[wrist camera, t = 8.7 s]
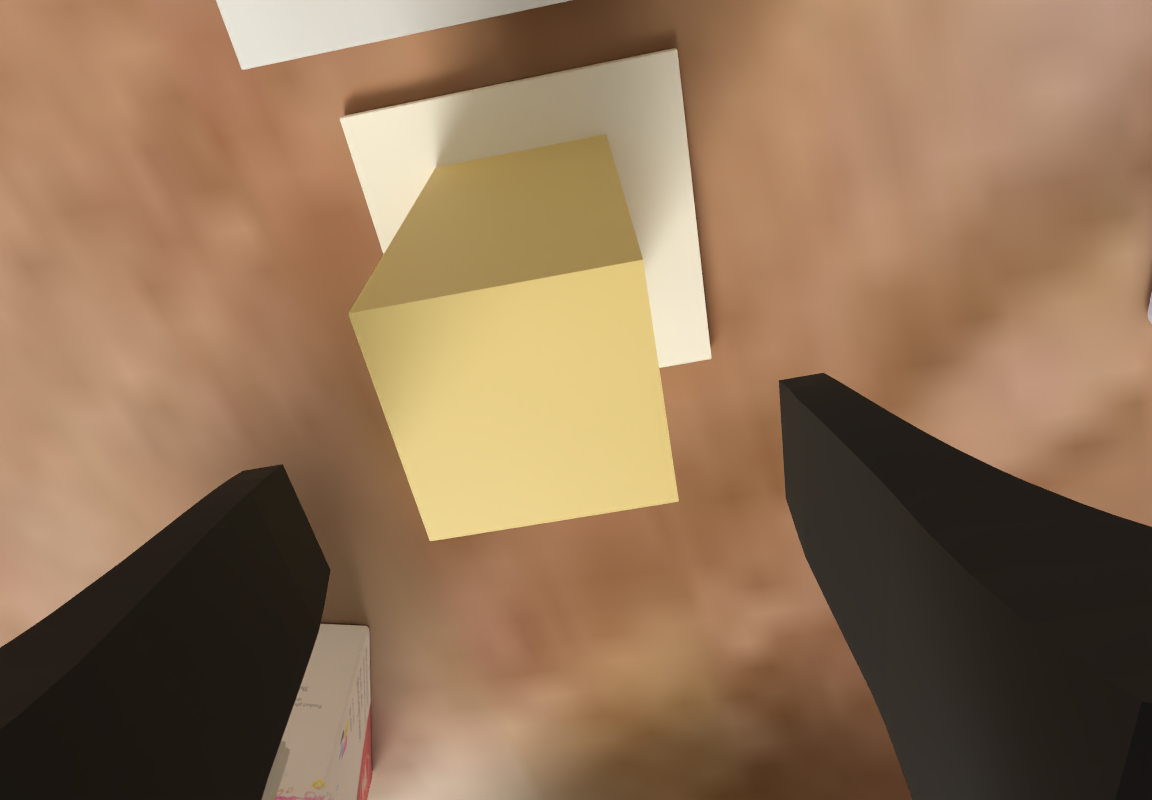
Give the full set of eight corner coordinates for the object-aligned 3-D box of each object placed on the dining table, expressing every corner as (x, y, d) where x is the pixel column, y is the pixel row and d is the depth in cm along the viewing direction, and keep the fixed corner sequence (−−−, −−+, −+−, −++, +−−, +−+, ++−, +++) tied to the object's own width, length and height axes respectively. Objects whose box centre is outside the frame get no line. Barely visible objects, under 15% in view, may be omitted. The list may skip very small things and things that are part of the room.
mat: (675, 47, 18) (677, 50, 17) (708, 352, 22) (711, 358, 21) (343, 115, 18) (339, 118, 18) (434, 400, 22) (432, 407, 22)
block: (606, 133, 18) (643, 259, 11) (631, 295, 20) (678, 501, 13) (435, 167, 19) (348, 314, 11) (477, 323, 21) (429, 541, 13)
